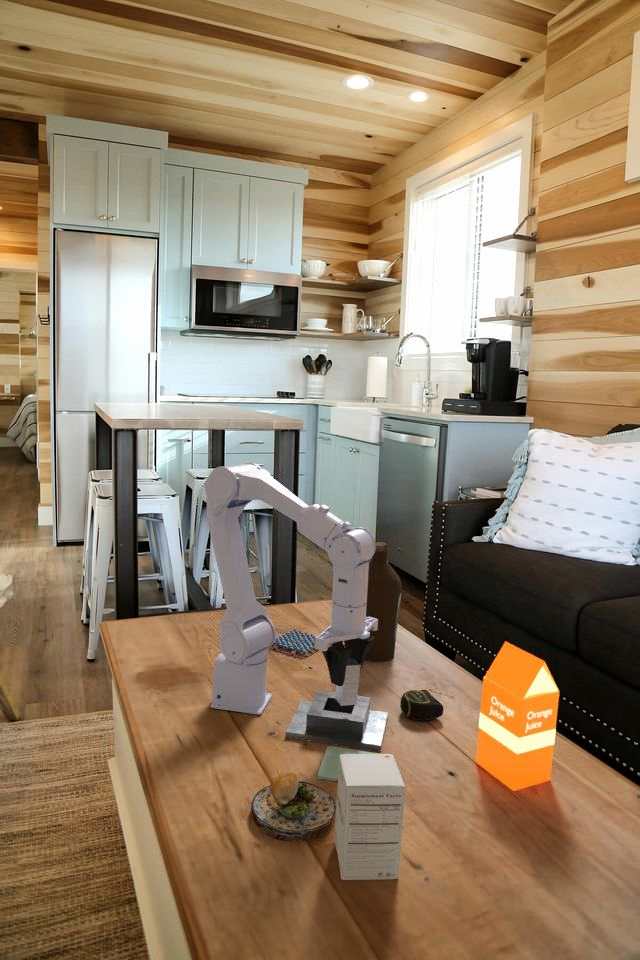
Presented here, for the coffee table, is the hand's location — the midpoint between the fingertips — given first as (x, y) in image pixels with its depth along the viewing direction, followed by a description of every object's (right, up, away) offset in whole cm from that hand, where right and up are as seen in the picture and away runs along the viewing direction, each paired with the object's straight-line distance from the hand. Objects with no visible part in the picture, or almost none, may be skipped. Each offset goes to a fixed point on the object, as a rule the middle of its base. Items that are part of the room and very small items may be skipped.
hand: (345, 680), depth 119 cm
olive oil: (+8, -5, +38) cm, 39 cm away
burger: (-8, -13, -20) cm, 26 cm away
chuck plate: (-1, -9, +4) cm, 10 cm away
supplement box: (+1, -15, -29) cm, 33 cm away
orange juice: (+26, -13, -7) cm, 30 cm away
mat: (+1, -11, -8) cm, 14 cm away
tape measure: (+14, -10, +11) cm, 21 cm away
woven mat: (-9, -4, +40) cm, 42 cm away
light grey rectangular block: (0, -4, 0) cm, 4 cm away
